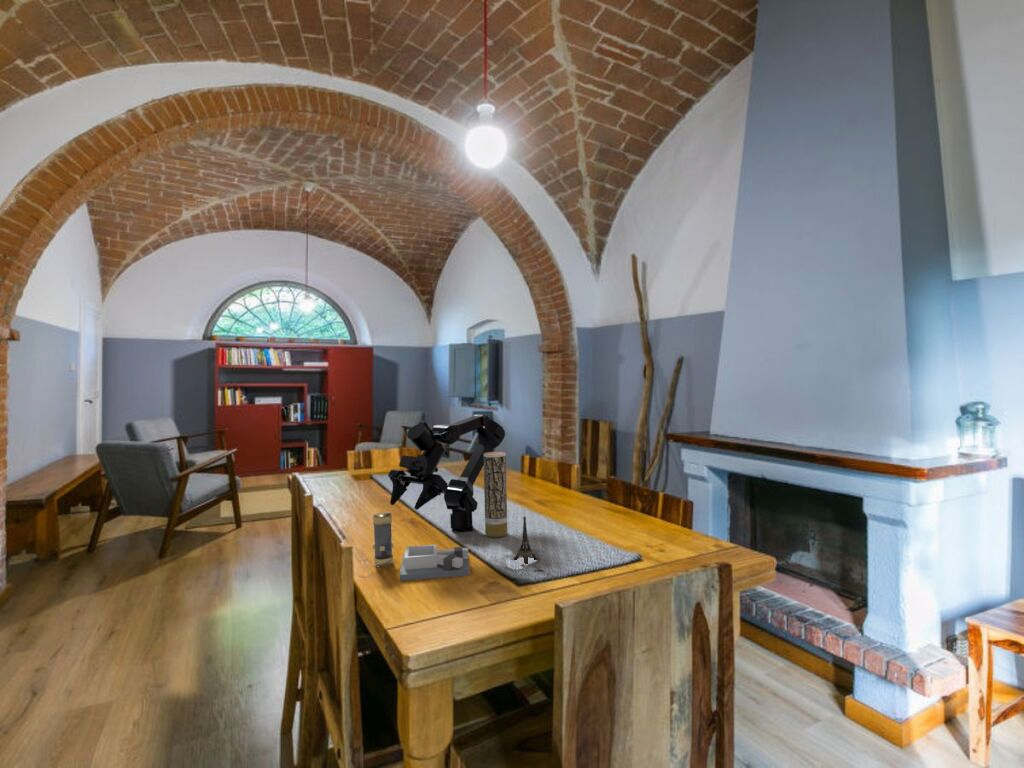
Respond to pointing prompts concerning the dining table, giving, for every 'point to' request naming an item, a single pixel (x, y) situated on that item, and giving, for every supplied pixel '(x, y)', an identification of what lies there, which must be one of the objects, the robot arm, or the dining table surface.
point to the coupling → (383, 539)
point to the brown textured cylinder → (495, 494)
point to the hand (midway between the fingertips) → (403, 506)
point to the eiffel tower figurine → (525, 546)
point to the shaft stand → (433, 563)
